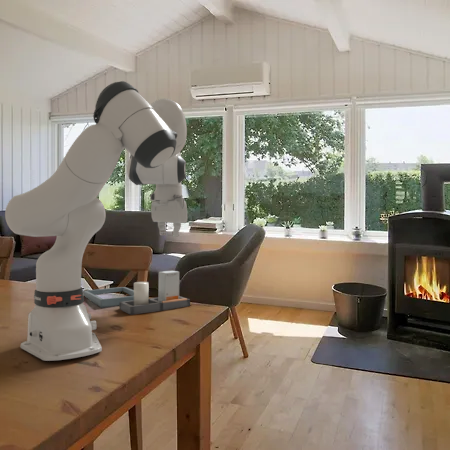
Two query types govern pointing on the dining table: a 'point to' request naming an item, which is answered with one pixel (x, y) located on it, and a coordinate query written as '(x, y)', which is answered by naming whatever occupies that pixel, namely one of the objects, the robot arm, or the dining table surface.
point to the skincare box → (168, 286)
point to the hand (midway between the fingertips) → (169, 236)
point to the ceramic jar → (141, 293)
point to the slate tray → (110, 301)
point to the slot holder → (153, 305)
